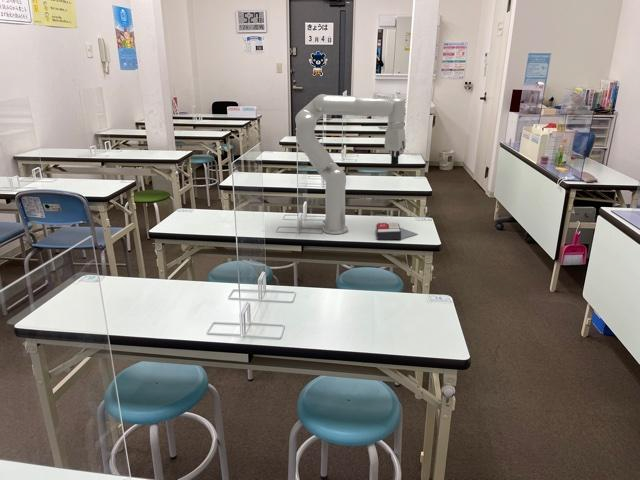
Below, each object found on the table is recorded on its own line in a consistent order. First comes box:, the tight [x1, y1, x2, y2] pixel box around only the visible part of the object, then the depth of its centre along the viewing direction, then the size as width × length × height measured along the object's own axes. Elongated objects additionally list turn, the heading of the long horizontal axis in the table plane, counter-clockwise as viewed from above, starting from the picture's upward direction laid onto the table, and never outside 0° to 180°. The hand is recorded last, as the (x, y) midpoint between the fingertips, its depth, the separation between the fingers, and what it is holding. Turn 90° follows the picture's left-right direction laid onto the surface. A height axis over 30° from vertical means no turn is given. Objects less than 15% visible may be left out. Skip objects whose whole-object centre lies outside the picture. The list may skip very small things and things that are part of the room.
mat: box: [400, 227, 419, 241], centre depth 228 cm, size 12×11×1 cm
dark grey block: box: [375, 222, 401, 241], centre depth 227 cm, size 11×4×15 cm
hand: (394, 164), depth 230 cm, fingers closed
